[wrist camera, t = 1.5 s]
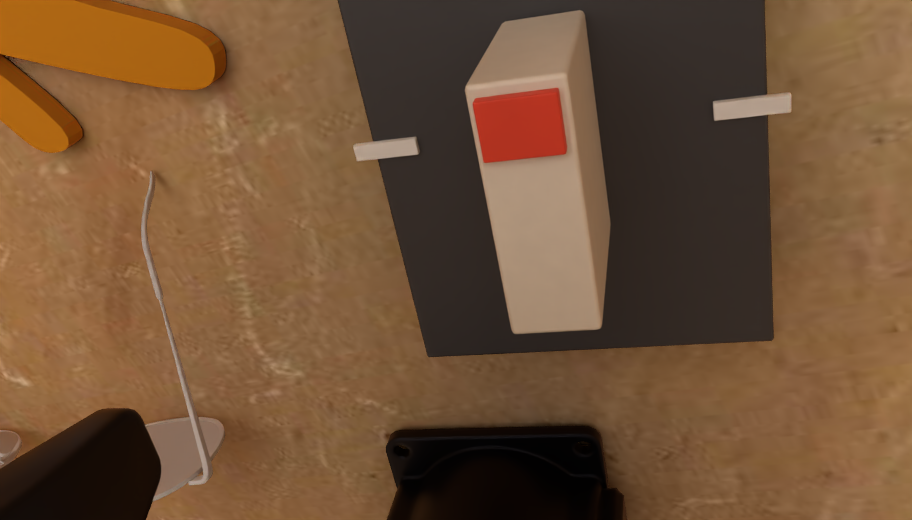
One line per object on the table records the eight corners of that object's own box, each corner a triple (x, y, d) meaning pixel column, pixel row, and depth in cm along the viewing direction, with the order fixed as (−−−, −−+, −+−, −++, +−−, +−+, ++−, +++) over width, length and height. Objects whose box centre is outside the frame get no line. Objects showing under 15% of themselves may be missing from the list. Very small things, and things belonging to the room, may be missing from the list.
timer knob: (611, 226, 18) (601, 339, 14) (536, 232, 19) (509, 344, 15) (584, 8, 16) (565, 77, 12) (501, 20, 16) (459, 91, 13)
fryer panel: (437, 294, 24) (410, 362, 21) (335, -137, 18) (282, -121, 16) (776, 272, 21) (794, 345, 19) (764, -229, 16) (786, -228, 14)
